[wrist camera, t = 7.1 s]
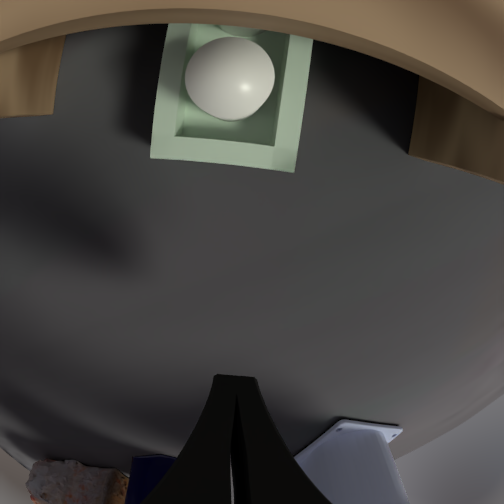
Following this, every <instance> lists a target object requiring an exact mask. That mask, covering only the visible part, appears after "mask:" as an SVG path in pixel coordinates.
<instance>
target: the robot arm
mask: <svg viewBox="0 0 504 504" xmlns="http://www.w3.org/2000/svg"><path fill="white" fill-rule="evenodd" d="M402 431H403V429H402V427H400V426H390V425H382V424H374V423H366V422H359V421H353V420H346V419H343V420H340V421H338V422H337V423H336V424H335V425H334V426H332V427H331V428H330V429H329V430H328V431H326V432H325V433H324V434H323V435H322V436H320V437H319V438H318V439H317V440H315V441H314V442H313V443H312V444H310V445H309V446H308V447H307V448H305V449H304V450H303V451H301V452H300V453H299V454H297V455H296V456H295V457H293V456H292V454H291V452H290V451H289V449H288V448H287V446H286V444H285V443H284V441H283V439H282V437H281V436H280V434H279V432H278V430H277V428H276V426H275V424H274V422H273V420H272V418H271V416H270V414H269V412H268V410H267V407H266V405H265V402H264V400H263V397H262V395H261V392H260V389H259V386H258V382H257V379H256V378H255V377H246V376H233V375H222V374H217V375H215V376H214V378H213V384H212V388H211V391H210V394H209V397H208V400H207V402H206V405H205V407H204V409H203V412H202V414H201V416H200V418H199V420H198V422H197V424H196V426H195V428H194V430H193V432H192V434H191V435H190V437H189V439H188V441H187V443H186V444H185V446H184V448H183V449H182V451H181V452H180V454H179V455H178V457H177V458H176V460H175V461H174V463H173V464H172V466H171V467H170V468H169V470H168V471H167V472H166V474H165V475H164V476H163V478H162V479H161V480H160V481H159V483H158V484H157V485H156V486H155V487H154V489H153V490H152V491H151V492H150V493H149V494H148V495H147V496H146V498H145V499H144V500H143V501H142V502H141V503H140V504H231V479H230V454H231V466H232V477H233V487H234V504H410V503H409V500H408V497H407V494H406V492H405V488H404V486H403V483H402V480H401V477H400V475H399V472H398V470H397V467H396V464H395V462H394V459H393V456H392V454H391V451H390V448H389V446H388V443H389V442H390V441H391V440H393V439H394V438H395V437H396V436H398V435H399V434H400V433H401V432H402Z"/></svg>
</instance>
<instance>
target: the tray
mask: <svg viewBox="0 0 504 504" xmlns="http://www.w3.org/2000/svg"><path fill="white" fill-rule="evenodd" d="M312 45H313V39H310V38H305V37H301V36H296V35H291V34H286V33H280V32H275V31H268V30H262V29H255V28H247V27H238V26H227V25H214V24H192V23H169V25H168V29H167V34H166V40H165V45H164V50H163V56H162V62H161V68H160V74H159V81H158V87H157V95H156V102H155V111H154V120H153V129H152V140H151V151H150V158H158V159H174V160H188V161H200V162H211V163H221V164H231V165H239V166H248V167H256V168H264V169H271V170H278V171H285V172H292V173H294V170H295V163H296V157H297V151H298V144H299V138H300V131H301V125H302V118H303V111H304V104H305V97H306V90H307V83H308V75H309V68H310V60H311V52H312Z"/></svg>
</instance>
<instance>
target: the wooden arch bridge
mask: <svg viewBox="0 0 504 504" xmlns="http://www.w3.org/2000/svg"><path fill="white" fill-rule="evenodd" d="M162 23H192V24H214V25H227V26H238V27H247V28H255V29H262V30H268V31H275V32H280V33H286V34H291V35H296V36H301V37H305V38H310V39H314V40H318V41H322V42H326V43H330V44H334V45H337V46H341V47H344V48H348V49H351V50H354V51H357V52H361V53H364V54H367V55H370V56H372V57H375V58H378V59H381V60H384V61H386V62H389V63H392V64H394V65H397V66H399V67H402V68H404V69H406V70H409V71H411V72H413V73H416V74H418V75H419V83H418V93H417V101H416V109H415V116H414V123H413V130H412V136H411V142H410V147H409V153H408V155H410V156H413V157H416V158H419V159H422V160H425V161H429V162H433V163H436V164H440V165H444V166H447V167H451V168H454V169H458V170H461V171H464V172H468V173H471V174H474V175H477V176H480V177H483V178H486V179H489V180H492V181H495V182H498V183H501V184H503V185H504V0H0V118H11V117H29V116H42V115H51V114H53V109H54V100H55V92H56V85H57V78H58V72H59V67H60V61H61V56H62V51H63V47H64V42H65V38H66V34H71V33H76V32H81V31H87V30H94V29H101V28H108V27H117V26H127V25H140V24H162Z"/></svg>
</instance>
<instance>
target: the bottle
mask: <svg viewBox="0 0 504 504" xmlns="http://www.w3.org/2000/svg"><path fill="white" fill-rule="evenodd" d="M175 460H176V458H175V457H170V456H166V455H162V454H156V455H147V456H137V457H132V467H131V472H130V477H129V482H128V487H127V492H126V497H125V502H124V504H140V503H141V502H142V501H143V500H144V499H145V498H146V496H147V495H148V494H149V493H150V492H151V491H152V490H153V489H154V487H155V486H156V485H157V484H158V483H159V481H160V480H161V479H162V478H163V476H164V475H165V474H166V472H167V471H168V470H169V468H170V467H171V466H172V464H173V463H174V461H175Z"/></svg>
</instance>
